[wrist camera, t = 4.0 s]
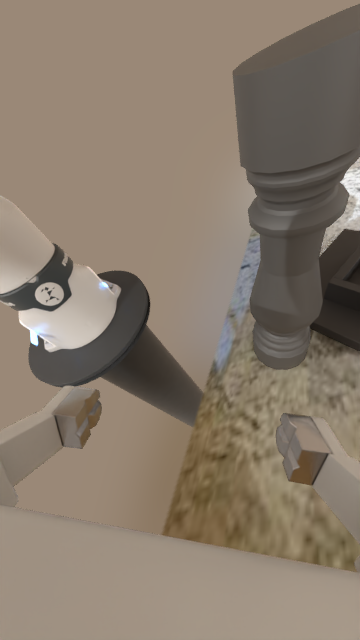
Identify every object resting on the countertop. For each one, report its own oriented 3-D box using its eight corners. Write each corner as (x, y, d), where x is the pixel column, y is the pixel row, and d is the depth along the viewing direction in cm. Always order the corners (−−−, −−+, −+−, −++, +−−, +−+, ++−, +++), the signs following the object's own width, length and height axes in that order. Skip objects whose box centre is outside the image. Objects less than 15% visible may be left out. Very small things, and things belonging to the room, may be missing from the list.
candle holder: (306, 374, 24) (473, -14, 5) (250, 365, 26) (210, 96, 7) (306, 329, 27) (409, -23, 8) (256, 324, 29) (238, 58, 10)
